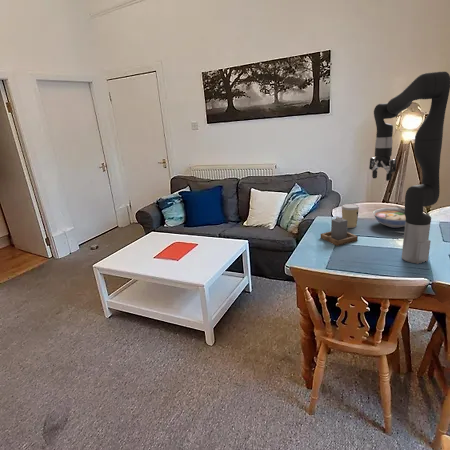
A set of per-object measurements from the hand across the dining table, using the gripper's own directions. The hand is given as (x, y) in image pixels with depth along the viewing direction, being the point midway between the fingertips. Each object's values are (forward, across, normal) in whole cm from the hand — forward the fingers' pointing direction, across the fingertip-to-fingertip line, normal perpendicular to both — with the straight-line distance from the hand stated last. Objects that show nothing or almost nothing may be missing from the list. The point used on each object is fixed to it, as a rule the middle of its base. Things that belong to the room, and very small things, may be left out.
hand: (381, 179), depth 161 cm
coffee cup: (+30, -18, -2) cm, 35 cm away
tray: (+30, -5, -21) cm, 37 cm away
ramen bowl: (+30, -5, +17) cm, 35 cm away
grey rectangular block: (+29, -5, -21) cm, 36 cm away
